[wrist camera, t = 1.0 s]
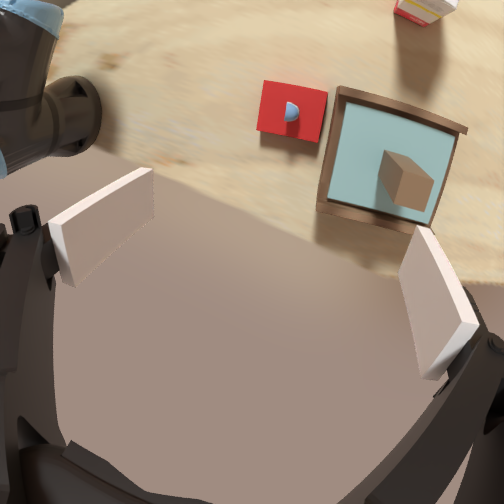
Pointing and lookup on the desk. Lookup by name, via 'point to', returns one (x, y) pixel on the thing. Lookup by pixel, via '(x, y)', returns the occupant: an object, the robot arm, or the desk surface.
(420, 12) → the ink box
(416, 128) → the lid
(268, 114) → the red knobbed tile
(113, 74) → the desk surface
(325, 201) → the walnut box
